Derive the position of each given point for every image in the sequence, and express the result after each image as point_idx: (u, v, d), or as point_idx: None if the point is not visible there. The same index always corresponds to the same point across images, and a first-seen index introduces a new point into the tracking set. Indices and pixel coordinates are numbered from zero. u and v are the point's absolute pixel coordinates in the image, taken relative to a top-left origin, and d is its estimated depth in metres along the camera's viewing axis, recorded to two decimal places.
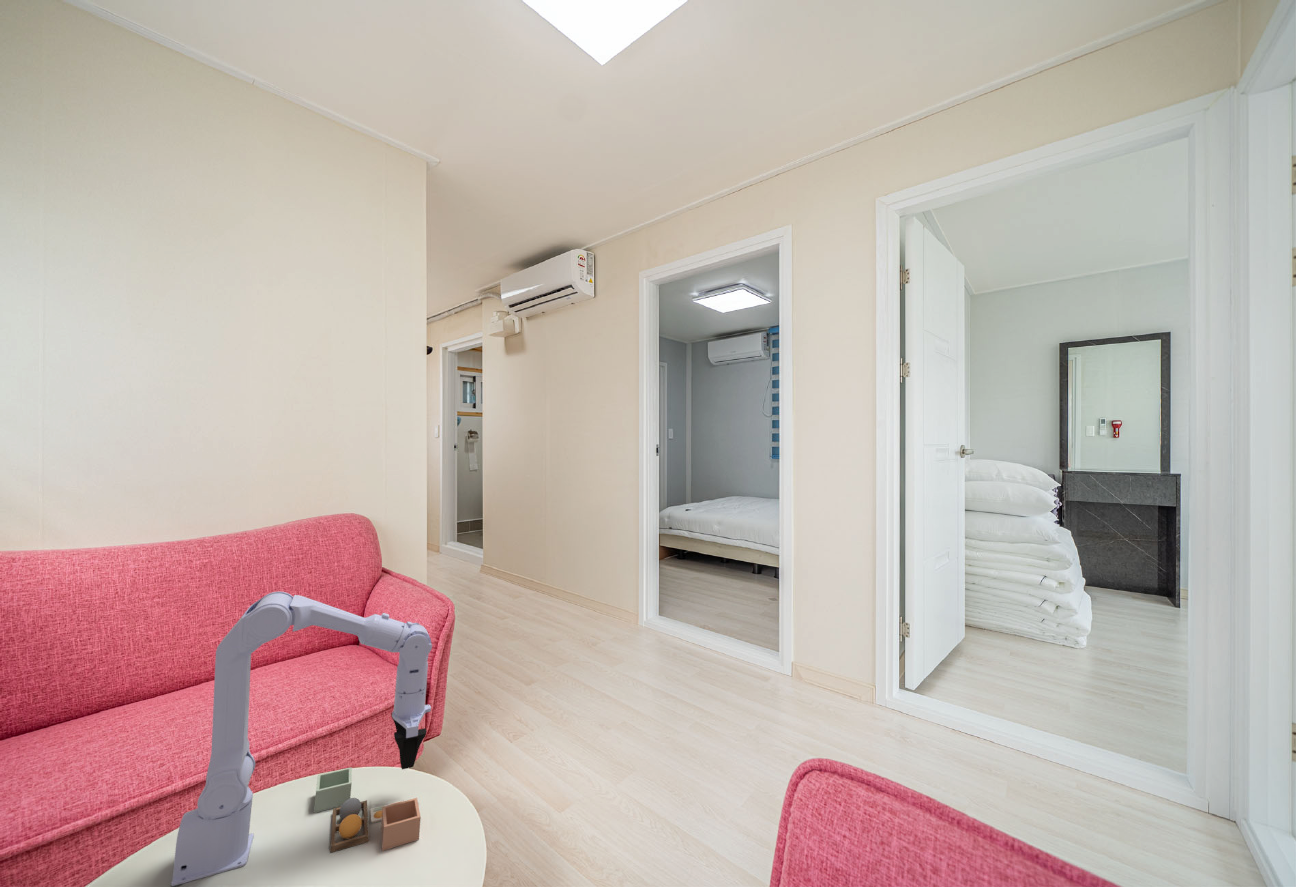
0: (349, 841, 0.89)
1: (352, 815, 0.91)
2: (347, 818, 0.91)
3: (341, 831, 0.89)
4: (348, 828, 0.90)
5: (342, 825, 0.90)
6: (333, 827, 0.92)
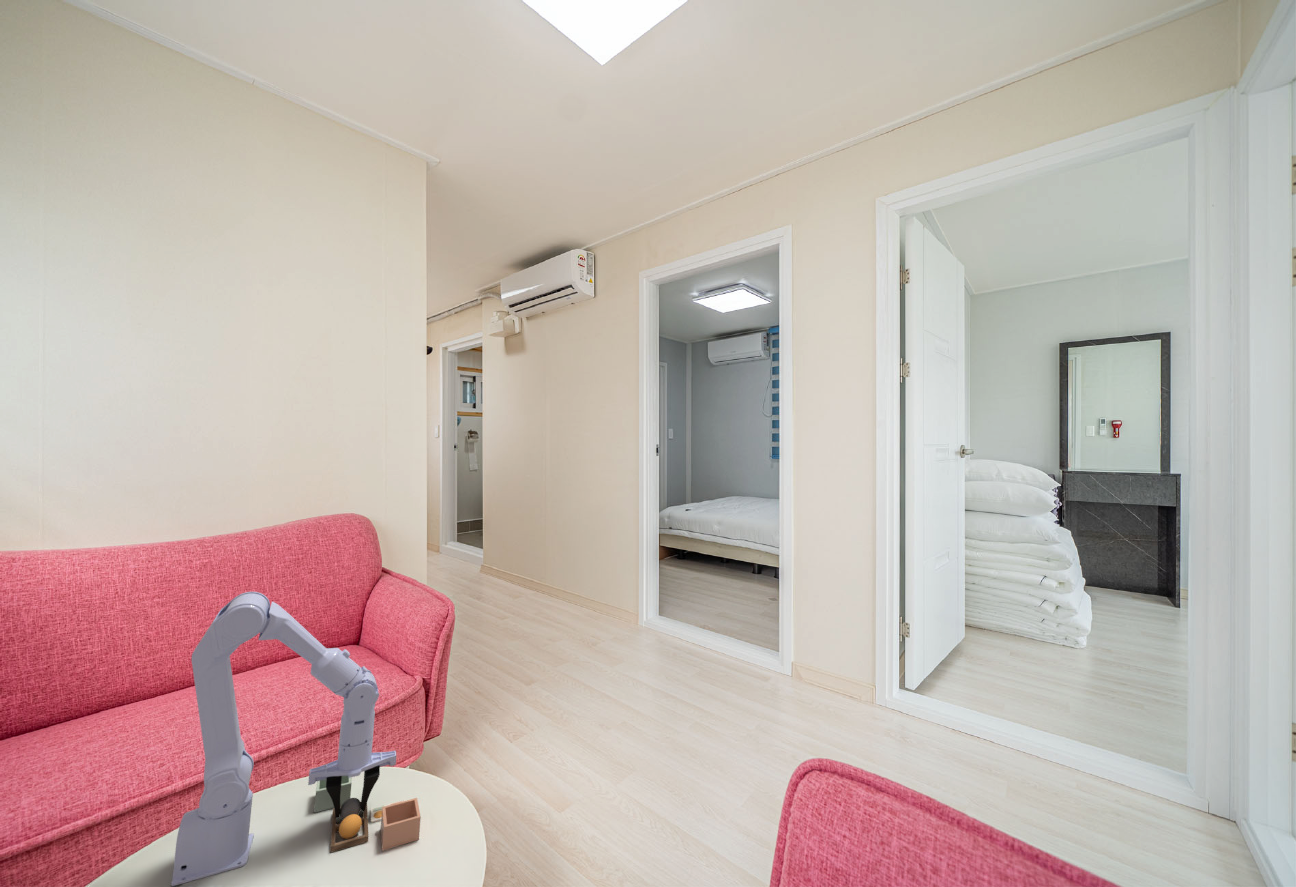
0: (349, 841, 0.89)
1: (352, 815, 0.91)
2: (347, 818, 0.91)
3: (341, 831, 0.89)
4: (348, 828, 0.90)
5: (342, 825, 0.90)
6: (333, 827, 0.92)
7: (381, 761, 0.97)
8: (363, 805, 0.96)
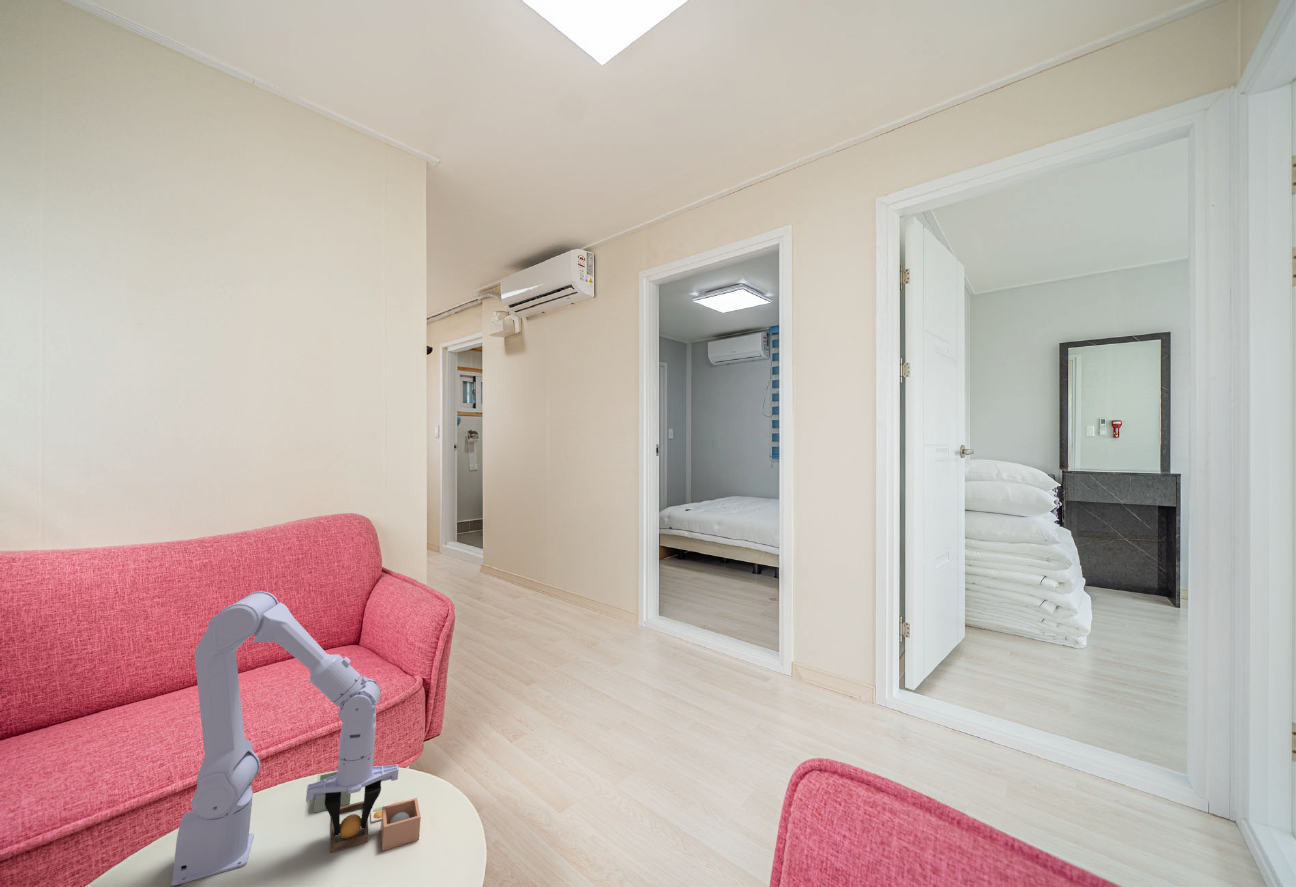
0: (349, 841, 0.89)
1: (352, 815, 0.91)
2: (347, 818, 0.91)
3: (341, 831, 0.89)
4: (348, 828, 0.90)
5: (342, 825, 0.90)
6: (333, 827, 0.92)
7: (382, 776, 0.93)
8: (364, 822, 0.91)
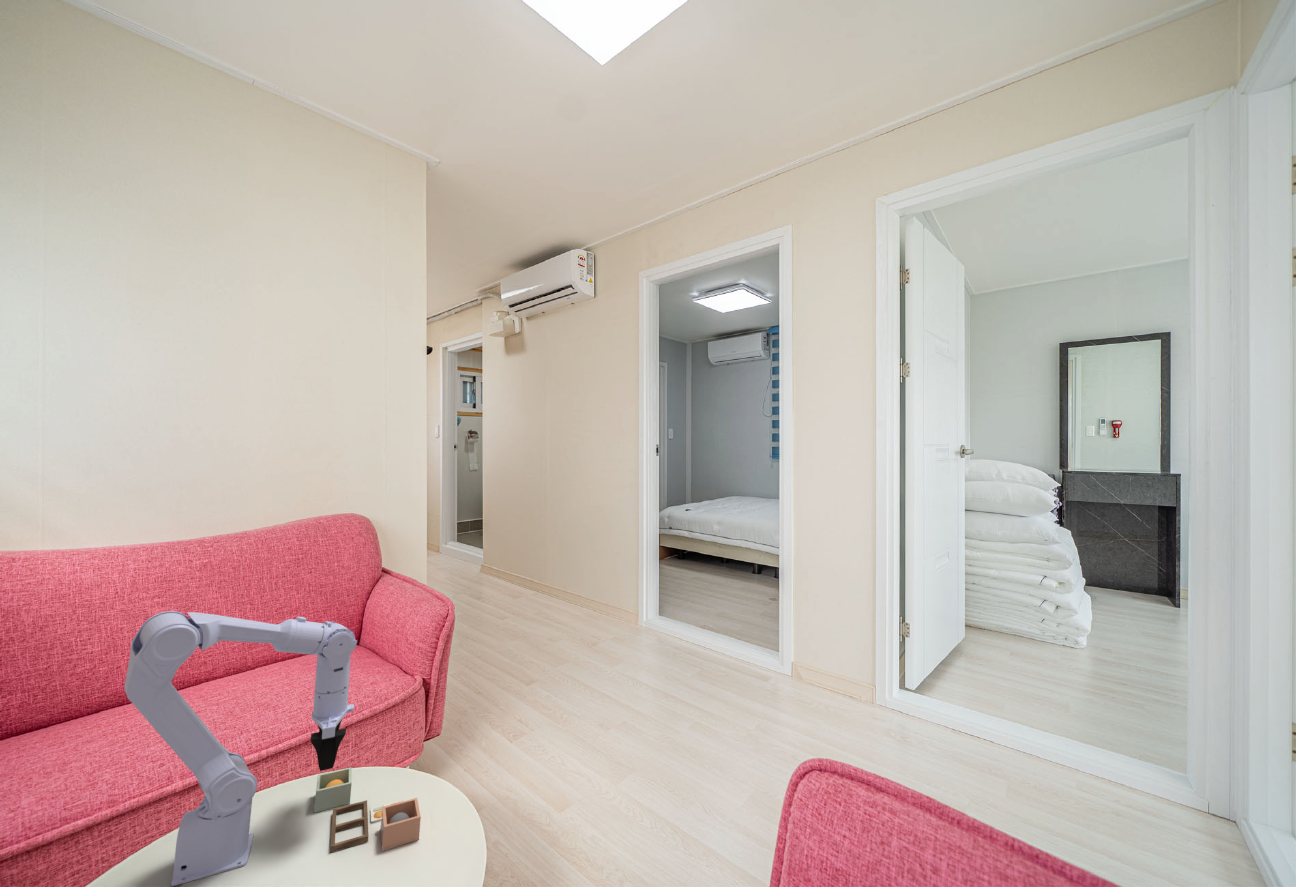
0: (349, 841, 0.89)
1: (333, 781, 1.01)
2: (335, 783, 1.00)
3: None
4: None
5: None
6: (333, 827, 0.92)
7: None
8: None
